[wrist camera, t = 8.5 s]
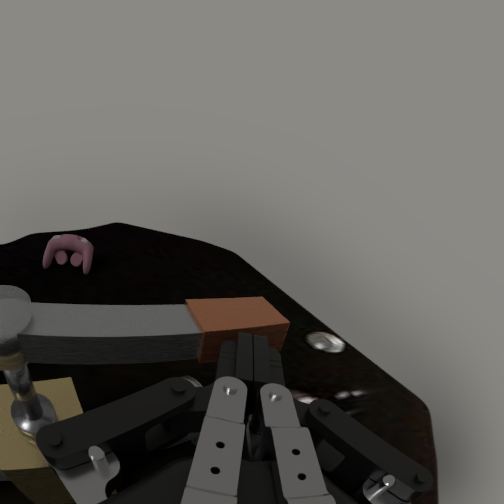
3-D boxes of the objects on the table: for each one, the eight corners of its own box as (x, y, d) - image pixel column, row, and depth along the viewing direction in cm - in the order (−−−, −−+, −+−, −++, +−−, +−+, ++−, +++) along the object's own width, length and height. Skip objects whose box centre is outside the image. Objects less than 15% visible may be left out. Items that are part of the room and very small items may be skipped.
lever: (-28, 366, 7) (-43, 322, 6) (-12, 322, 9) (-21, 282, 9) (283, 353, 15) (295, 319, 15) (252, 320, 18) (261, 288, 18)
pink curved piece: (92, 275, 47) (96, 238, 48) (88, 274, 42) (93, 234, 43) (47, 269, 43) (51, 233, 44) (39, 268, 39) (44, 229, 40)
